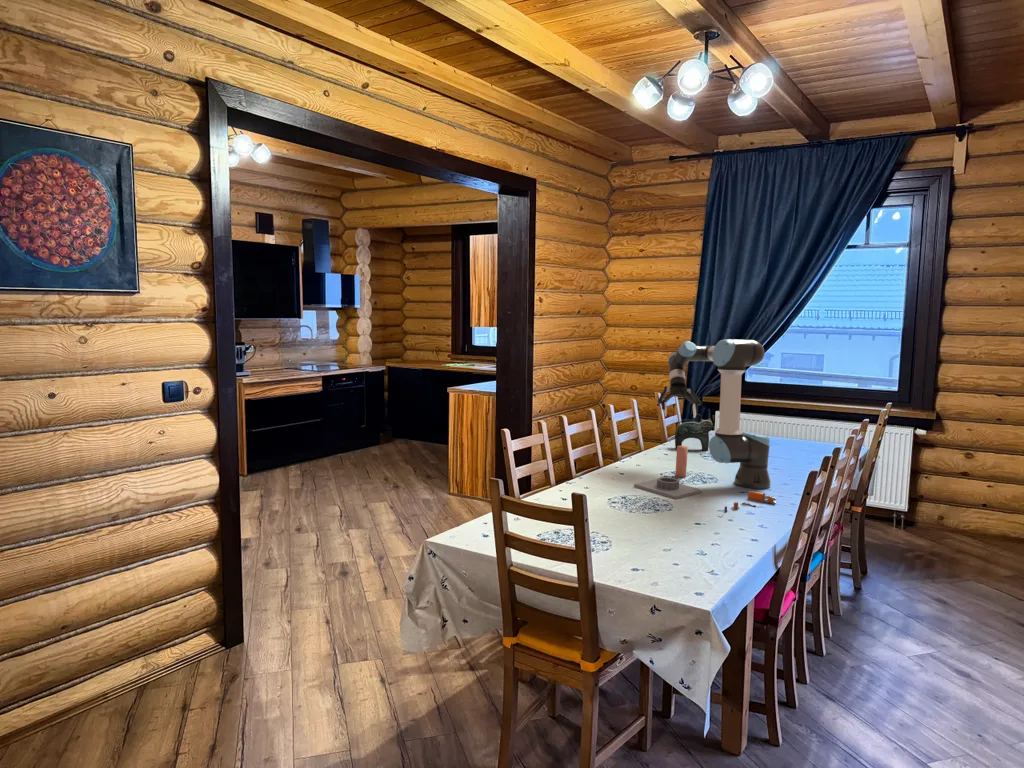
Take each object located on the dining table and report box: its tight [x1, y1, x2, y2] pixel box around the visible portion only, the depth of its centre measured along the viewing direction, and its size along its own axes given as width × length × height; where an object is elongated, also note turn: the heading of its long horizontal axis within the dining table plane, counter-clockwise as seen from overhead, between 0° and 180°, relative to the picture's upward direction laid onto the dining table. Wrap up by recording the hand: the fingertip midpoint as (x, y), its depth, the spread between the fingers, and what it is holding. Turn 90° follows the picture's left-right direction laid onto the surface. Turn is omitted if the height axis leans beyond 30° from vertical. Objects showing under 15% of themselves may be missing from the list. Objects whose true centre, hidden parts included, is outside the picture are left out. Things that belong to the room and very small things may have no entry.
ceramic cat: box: [674, 413, 713, 452], centre depth 372 cm, size 20×6×20 cm, turn 80°
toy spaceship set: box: [717, 490, 777, 521], centre depth 263 cm, size 11×35×4 cm, turn 141°
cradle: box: [633, 476, 703, 500], centre depth 288 cm, size 22×18×4 cm
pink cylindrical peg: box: [674, 445, 689, 479], centre depth 312 cm, size 5×5×14 cm
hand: (680, 415), depth 320 cm, fingers open, 13 cm apart
